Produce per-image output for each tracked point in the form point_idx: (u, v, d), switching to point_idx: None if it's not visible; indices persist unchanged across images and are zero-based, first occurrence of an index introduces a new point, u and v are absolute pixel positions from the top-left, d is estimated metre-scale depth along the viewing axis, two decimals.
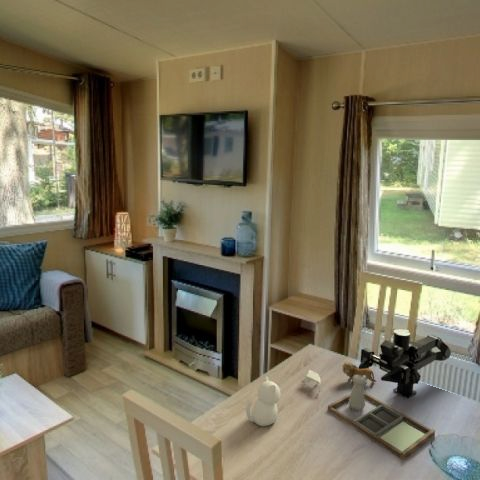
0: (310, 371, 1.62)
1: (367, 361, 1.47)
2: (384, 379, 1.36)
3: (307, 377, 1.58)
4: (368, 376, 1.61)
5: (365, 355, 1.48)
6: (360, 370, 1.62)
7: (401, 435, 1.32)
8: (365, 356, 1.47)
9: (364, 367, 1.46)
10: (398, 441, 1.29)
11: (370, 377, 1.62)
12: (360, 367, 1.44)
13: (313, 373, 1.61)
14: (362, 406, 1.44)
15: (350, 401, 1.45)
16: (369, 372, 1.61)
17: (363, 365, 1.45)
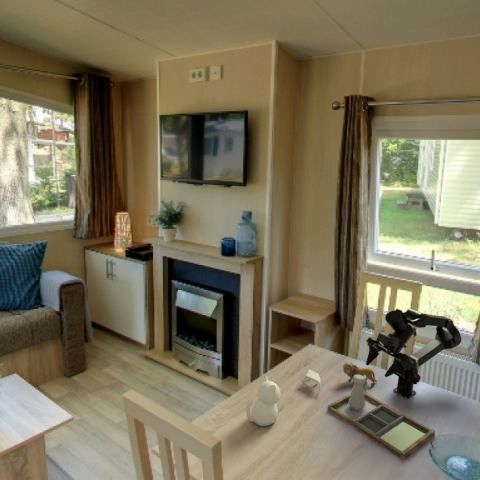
0: (310, 371, 1.63)
1: (373, 352, 1.53)
2: (388, 375, 1.43)
3: (307, 377, 1.59)
4: (369, 376, 1.61)
5: (369, 347, 1.53)
6: (361, 370, 1.62)
7: (401, 435, 1.32)
8: (370, 349, 1.53)
9: (372, 359, 1.53)
10: (398, 441, 1.29)
11: (371, 377, 1.62)
12: (367, 363, 1.51)
13: (313, 373, 1.61)
14: (362, 406, 1.44)
15: (350, 401, 1.45)
16: (370, 372, 1.61)
17: (370, 359, 1.52)
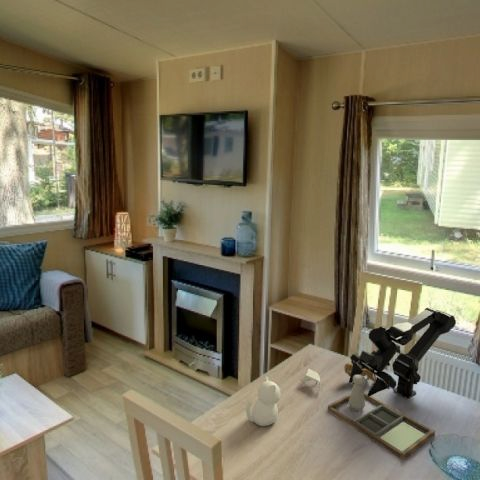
0: (309, 370, 1.63)
1: (357, 370, 1.50)
2: (371, 394, 1.41)
3: (307, 376, 1.59)
4: (370, 376, 1.61)
5: (353, 365, 1.51)
6: None
7: (401, 435, 1.32)
8: (353, 366, 1.51)
9: None
10: (398, 441, 1.29)
11: (372, 377, 1.62)
12: (351, 381, 1.49)
13: (312, 372, 1.61)
14: (362, 406, 1.44)
15: (350, 401, 1.45)
16: (371, 372, 1.61)
17: None
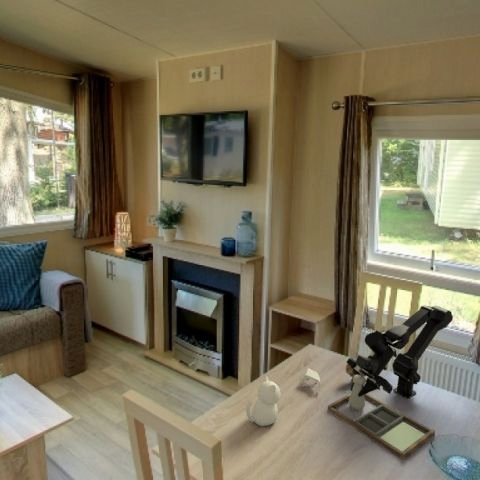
0: (309, 370, 1.63)
1: None
2: (361, 395, 1.43)
3: (306, 376, 1.59)
4: None
5: (354, 373, 1.48)
6: None
7: (401, 435, 1.32)
8: (355, 374, 1.48)
9: None
10: (398, 441, 1.29)
11: None
12: None
13: (312, 372, 1.62)
14: (362, 406, 1.44)
15: (350, 401, 1.45)
16: None
17: None
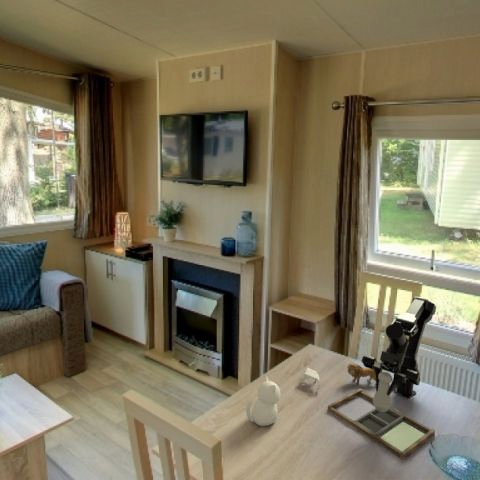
0: (308, 369, 1.64)
1: None
2: (390, 393, 1.32)
3: (306, 375, 1.60)
4: (373, 376, 1.61)
5: (376, 371, 1.36)
6: (365, 370, 1.62)
7: (401, 435, 1.32)
8: (376, 372, 1.36)
9: None
10: (398, 441, 1.29)
11: (375, 377, 1.62)
12: (377, 389, 1.35)
13: (311, 371, 1.62)
14: (390, 405, 1.34)
15: (377, 402, 1.33)
16: (374, 372, 1.61)
17: None
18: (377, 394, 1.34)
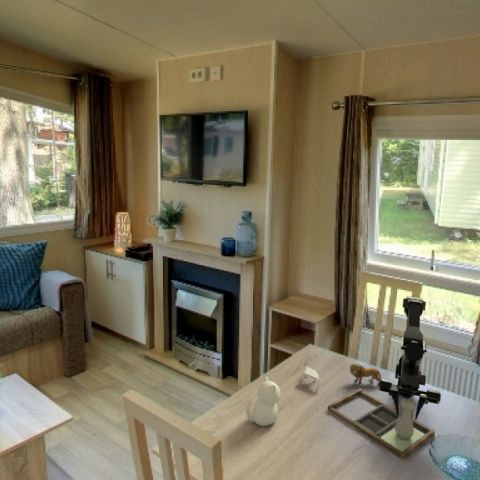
0: (307, 368, 1.65)
1: None
2: (417, 417, 1.28)
3: (305, 374, 1.61)
4: (375, 376, 1.61)
5: (394, 394, 1.32)
6: (367, 370, 1.62)
7: None
8: (394, 395, 1.32)
9: None
10: (398, 441, 1.29)
11: (377, 377, 1.62)
12: None
13: (310, 370, 1.63)
14: None
15: (402, 431, 1.29)
16: (376, 372, 1.61)
17: (398, 407, 1.31)
18: (401, 423, 1.30)
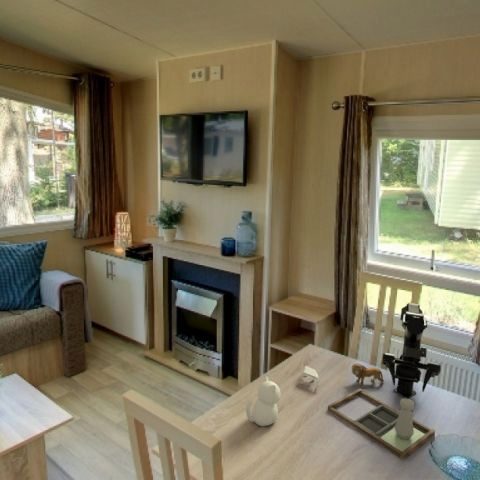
0: (306, 367, 1.65)
1: (394, 369, 1.41)
2: (424, 389, 1.35)
3: (304, 373, 1.61)
4: (377, 376, 1.61)
5: (390, 365, 1.40)
6: (369, 371, 1.62)
7: None
8: (391, 366, 1.40)
9: None
10: (398, 441, 1.29)
11: (379, 377, 1.62)
12: (394, 383, 1.38)
13: (310, 369, 1.64)
14: (413, 431, 1.31)
15: (402, 431, 1.29)
16: (378, 372, 1.61)
17: None
18: (401, 422, 1.30)
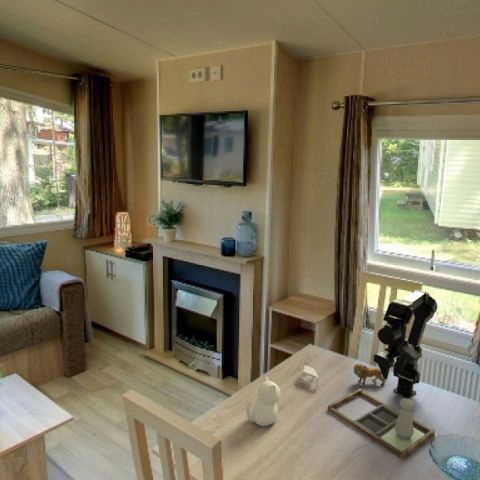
0: (306, 366, 1.66)
1: None
2: None
3: (304, 372, 1.62)
4: (379, 376, 1.62)
5: (389, 368, 1.39)
6: (371, 371, 1.62)
7: None
8: (389, 368, 1.39)
9: None
10: (398, 441, 1.29)
11: (381, 377, 1.62)
12: None
13: (309, 368, 1.64)
14: (413, 431, 1.31)
15: (402, 431, 1.29)
16: (380, 372, 1.61)
17: None
18: (401, 422, 1.30)
